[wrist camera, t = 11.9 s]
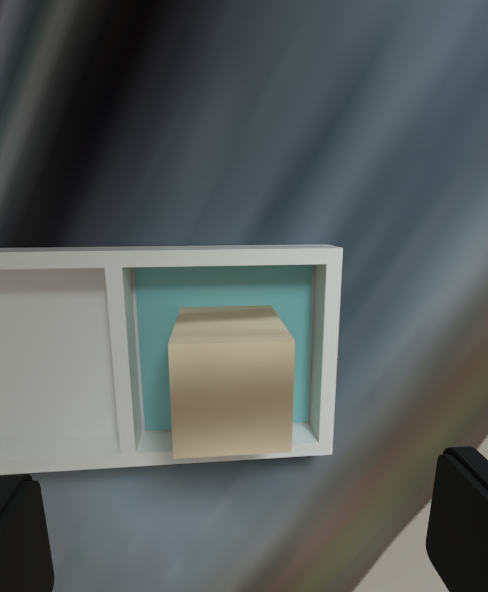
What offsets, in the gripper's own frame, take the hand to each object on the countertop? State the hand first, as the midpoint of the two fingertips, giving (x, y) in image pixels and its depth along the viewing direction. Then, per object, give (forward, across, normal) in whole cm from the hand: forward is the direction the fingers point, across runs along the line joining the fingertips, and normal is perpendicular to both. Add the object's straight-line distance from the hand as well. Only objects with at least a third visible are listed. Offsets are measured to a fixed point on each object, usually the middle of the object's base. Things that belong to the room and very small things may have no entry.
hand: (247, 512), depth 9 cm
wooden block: (+12, 0, +1) cm, 13 cm away
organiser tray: (+13, +5, +1) cm, 14 cm away
